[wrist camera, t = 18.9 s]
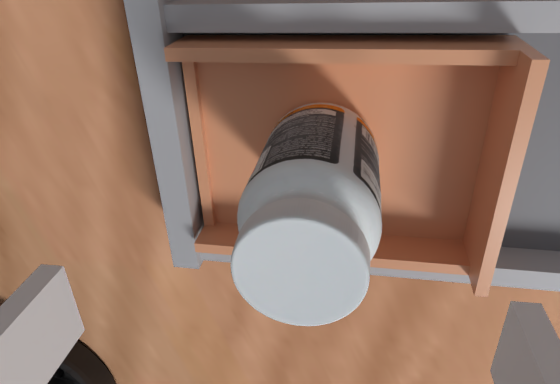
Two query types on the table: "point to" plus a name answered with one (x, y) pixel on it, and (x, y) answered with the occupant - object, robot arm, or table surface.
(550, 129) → the bay
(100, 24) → the table surface
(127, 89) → the table surface
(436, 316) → the table surface
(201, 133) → the crate
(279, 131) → the pill bottle
